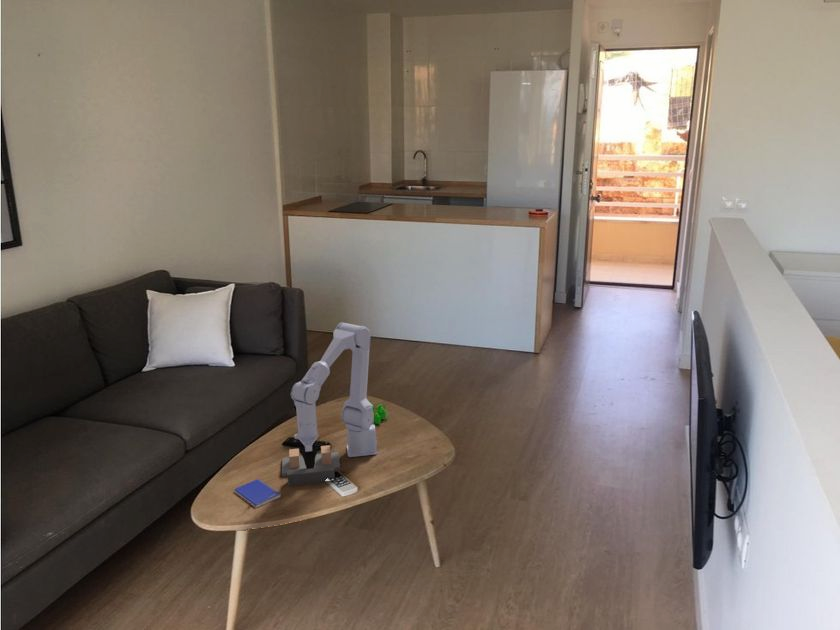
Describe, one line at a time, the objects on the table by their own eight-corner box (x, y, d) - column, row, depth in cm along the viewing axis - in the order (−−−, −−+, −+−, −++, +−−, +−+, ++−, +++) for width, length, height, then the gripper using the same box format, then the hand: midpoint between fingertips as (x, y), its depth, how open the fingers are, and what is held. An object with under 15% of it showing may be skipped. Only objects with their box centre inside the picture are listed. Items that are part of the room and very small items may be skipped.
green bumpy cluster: (340, 418, 245) (339, 401, 243) (373, 407, 254) (372, 390, 252) (363, 432, 234) (362, 414, 232) (397, 420, 243) (396, 402, 241)
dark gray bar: (334, 476, 205) (333, 465, 204) (335, 481, 202) (334, 470, 201) (288, 481, 203) (287, 470, 202) (288, 487, 200) (287, 475, 199)
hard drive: (280, 493, 194) (258, 478, 203) (255, 504, 189) (234, 488, 198) (280, 498, 195) (258, 483, 203) (256, 509, 189) (234, 493, 198)
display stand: (338, 454, 218) (337, 440, 217) (340, 469, 209) (339, 455, 207) (282, 460, 215) (281, 446, 214) (282, 476, 206) (280, 461, 204)
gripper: (293, 412, 203) (296, 452, 207) (293, 432, 189) (296, 475, 193) (316, 410, 204) (319, 449, 208) (318, 430, 191) (321, 472, 194)
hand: (310, 461), depth 201 cm, fingers open, 7 cm apart
